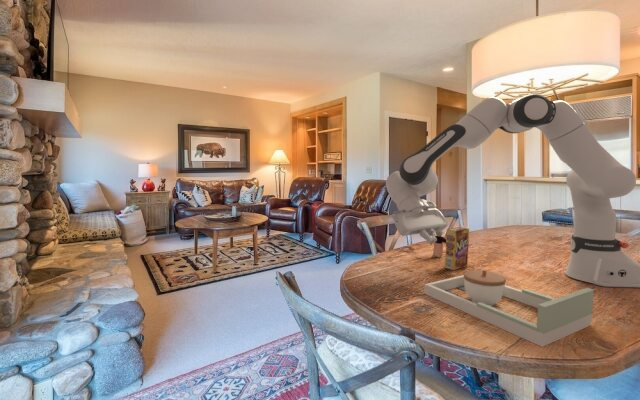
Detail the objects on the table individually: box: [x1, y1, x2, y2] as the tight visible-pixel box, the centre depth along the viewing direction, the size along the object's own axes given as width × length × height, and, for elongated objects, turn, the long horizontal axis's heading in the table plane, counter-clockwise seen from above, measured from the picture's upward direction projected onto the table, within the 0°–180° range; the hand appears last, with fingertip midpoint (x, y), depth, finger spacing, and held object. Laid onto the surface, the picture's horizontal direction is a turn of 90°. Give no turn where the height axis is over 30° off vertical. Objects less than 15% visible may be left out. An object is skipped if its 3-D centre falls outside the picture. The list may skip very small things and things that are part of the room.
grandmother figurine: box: [429, 230, 446, 259], centre depth 141 cm, size 8×4×13 cm, turn 68°
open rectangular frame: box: [477, 287, 595, 334], centre depth 83 cm, size 16×21×6 cm
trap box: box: [423, 274, 593, 348], centre depth 91 cm, size 34×20×3 cm, turn 28°
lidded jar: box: [463, 269, 507, 307], centre depth 95 cm, size 11×11×9 cm
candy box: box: [444, 226, 470, 271], centre depth 127 cm, size 9×4×15 cm, turn 123°
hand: (432, 241), depth 111 cm, fingers closed
